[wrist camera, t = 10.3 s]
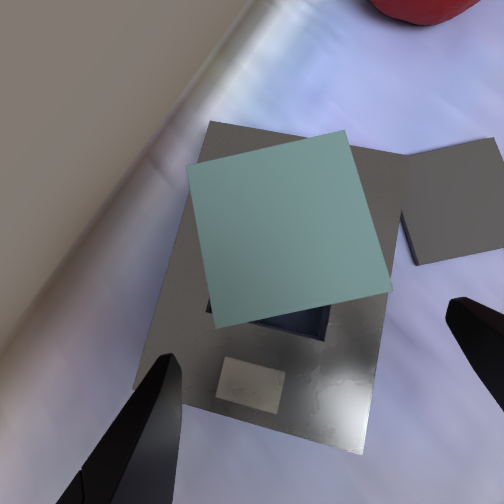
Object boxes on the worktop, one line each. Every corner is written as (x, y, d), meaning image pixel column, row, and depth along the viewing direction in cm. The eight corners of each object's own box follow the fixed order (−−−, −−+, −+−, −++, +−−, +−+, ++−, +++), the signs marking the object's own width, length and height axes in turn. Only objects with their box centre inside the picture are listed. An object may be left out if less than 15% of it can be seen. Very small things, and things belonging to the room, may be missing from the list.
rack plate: (392, 175, 19) (411, 153, 16) (348, 432, 16) (363, 457, 14) (217, 143, 20) (209, 118, 18) (151, 377, 18) (130, 390, 15)
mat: (530, 242, 18) (535, 240, 17) (416, 265, 18) (419, 265, 17) (489, 140, 19) (493, 137, 19) (383, 163, 19) (386, 160, 19)
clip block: (319, 299, 18) (393, 290, 7) (248, 314, 18) (215, 329, 7) (302, 230, 19) (344, 129, 8) (235, 245, 19) (186, 166, 8)
